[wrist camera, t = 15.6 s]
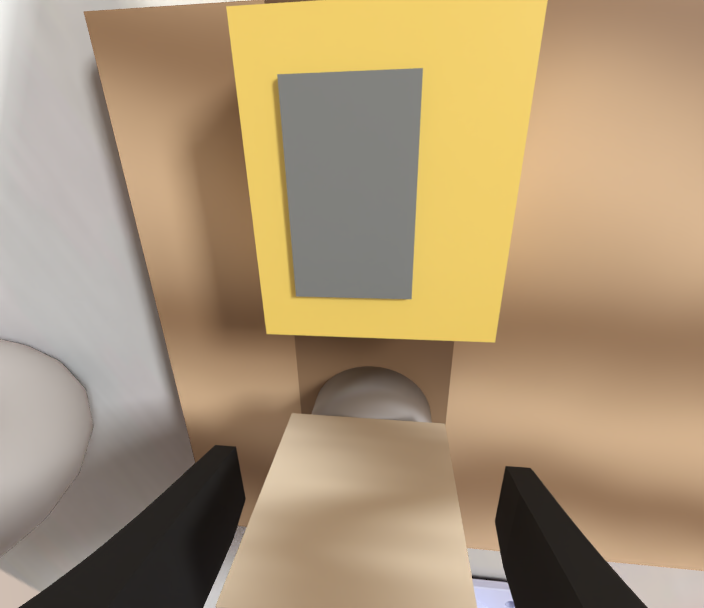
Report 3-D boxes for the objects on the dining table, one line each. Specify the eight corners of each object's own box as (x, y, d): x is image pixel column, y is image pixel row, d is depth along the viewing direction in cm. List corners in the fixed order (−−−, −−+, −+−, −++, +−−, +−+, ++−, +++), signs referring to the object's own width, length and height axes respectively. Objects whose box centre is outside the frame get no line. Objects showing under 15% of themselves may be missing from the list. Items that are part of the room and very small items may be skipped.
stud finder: (469, 291, 10) (497, 345, 8) (298, 287, 11) (264, 337, 8) (498, 40, 8) (554, -19, 5) (280, 51, 9) (222, 3, 6)
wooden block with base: (435, 369, 12) (483, 640, 5) (426, 463, 13) (455, 761, 7) (311, 362, 12) (215, 606, 6) (317, 455, 14) (246, 728, 7)
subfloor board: (689, 533, 15) (718, 571, 14) (225, 493, 17) (210, 523, 16) (971, -21, 8) (1089, -54, 7) (126, 29, 10) (83, 11, 9)
